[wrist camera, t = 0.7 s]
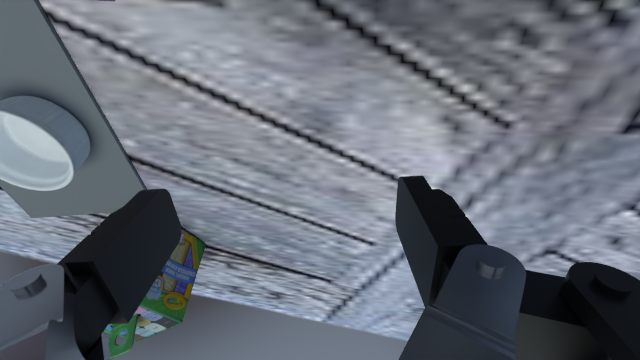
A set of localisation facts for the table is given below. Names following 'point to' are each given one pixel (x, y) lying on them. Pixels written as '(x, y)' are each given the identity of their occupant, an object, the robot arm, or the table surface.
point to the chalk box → (162, 297)
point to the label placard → (75, 97)
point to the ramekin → (39, 144)
